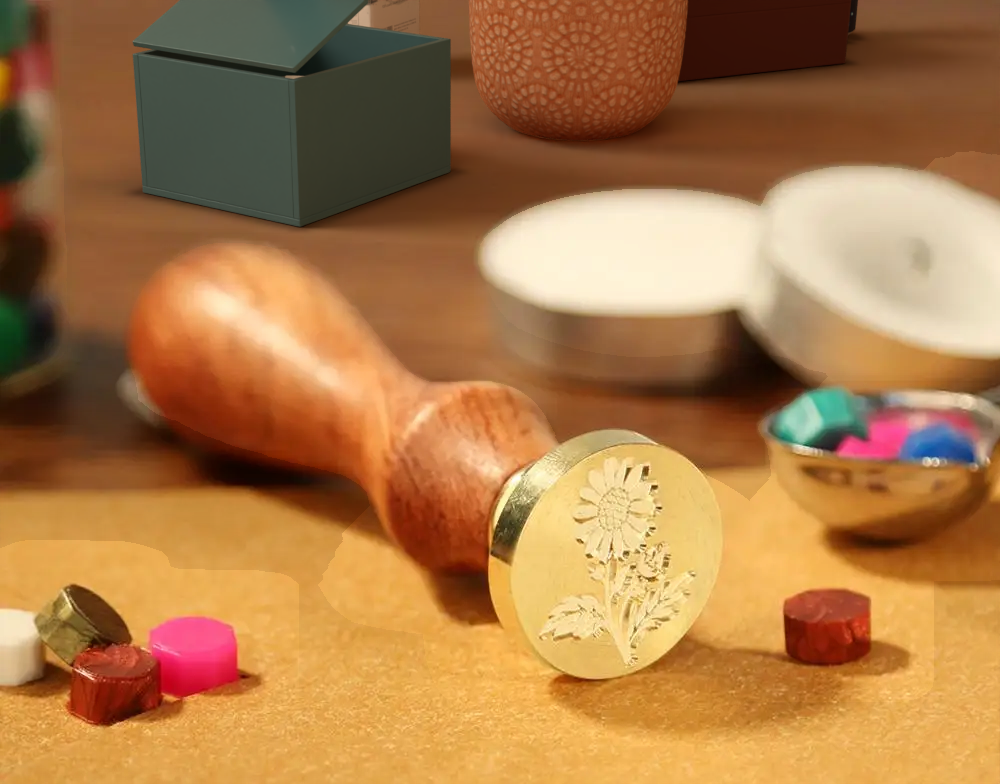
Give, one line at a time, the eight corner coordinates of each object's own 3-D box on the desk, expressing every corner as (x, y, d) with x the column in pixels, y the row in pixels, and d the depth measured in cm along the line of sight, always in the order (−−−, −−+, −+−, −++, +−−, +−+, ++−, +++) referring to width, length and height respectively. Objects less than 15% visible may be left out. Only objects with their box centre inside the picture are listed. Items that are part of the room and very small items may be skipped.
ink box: (376, 57, 168) (374, -77, 163) (422, 63, 166) (422, -72, 161) (326, 74, 161) (322, -65, 156) (373, 80, 159) (371, -60, 154)
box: (744, 31, 181) (751, -74, 177) (848, 63, 168) (858, -50, 164) (561, 49, 172) (563, -61, 168) (655, 84, 159) (660, -35, 155)
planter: (674, 103, 152) (683, -87, 146) (691, 156, 137) (703, -55, 130) (469, 101, 152) (470, -90, 146) (463, 153, 137) (464, -58, 130)
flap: (295, 73, 115) (293, 67, 115) (133, 46, 122) (131, 41, 122) (368, 2, 119) (367, -3, 119) (209, -20, 126) (207, -25, 126)
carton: (299, 227, 119) (294, 80, 115) (142, 192, 126) (132, 53, 122) (450, 172, 132) (450, 38, 128) (300, 143, 139) (295, 16, 135)
